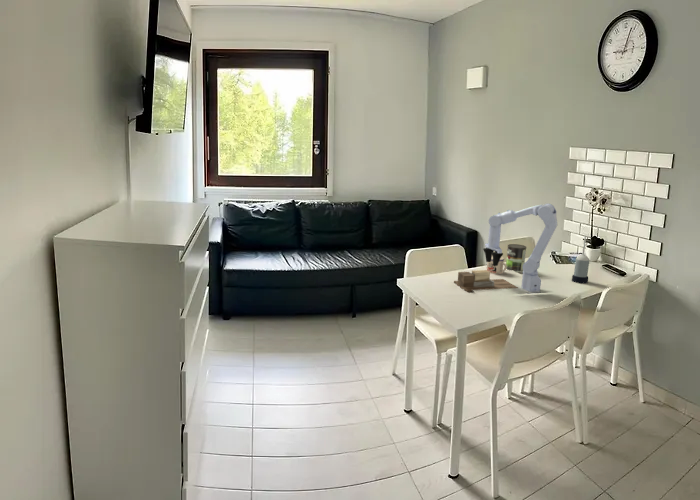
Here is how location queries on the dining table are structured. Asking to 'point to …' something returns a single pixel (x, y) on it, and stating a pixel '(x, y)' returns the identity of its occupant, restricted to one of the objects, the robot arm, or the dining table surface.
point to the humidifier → (581, 268)
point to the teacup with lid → (498, 268)
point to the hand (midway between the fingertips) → (491, 263)
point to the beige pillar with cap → (481, 275)
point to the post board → (480, 283)
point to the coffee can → (515, 257)
